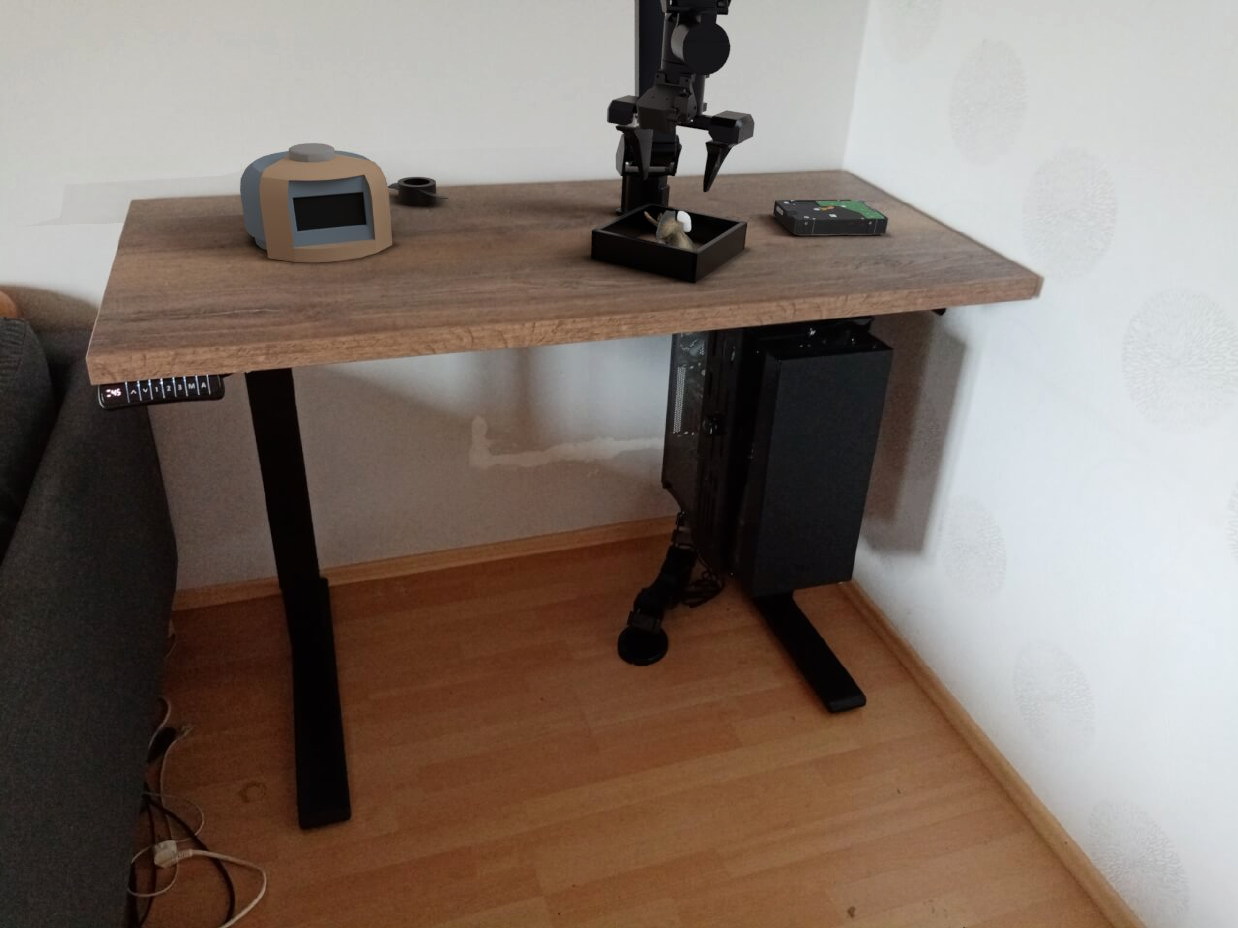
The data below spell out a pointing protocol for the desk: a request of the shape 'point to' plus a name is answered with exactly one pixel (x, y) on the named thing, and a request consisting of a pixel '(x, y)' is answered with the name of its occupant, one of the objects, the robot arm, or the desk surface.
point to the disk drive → (829, 217)
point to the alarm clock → (316, 204)
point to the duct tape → (416, 191)
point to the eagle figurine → (673, 229)
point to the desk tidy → (627, 250)
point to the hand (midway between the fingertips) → (674, 185)
